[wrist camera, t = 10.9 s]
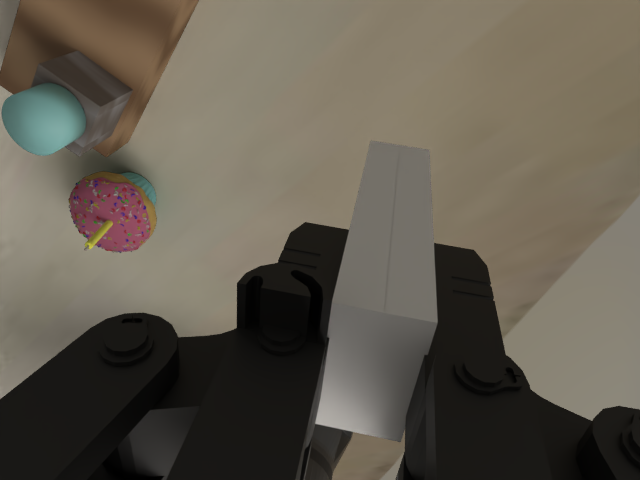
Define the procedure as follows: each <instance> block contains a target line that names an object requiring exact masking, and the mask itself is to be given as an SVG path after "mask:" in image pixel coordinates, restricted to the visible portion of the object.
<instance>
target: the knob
mask: <svg viewBox="0 0 640 480" xmlns="http://www.w3.org/2000/svg"><path fill="white" fill-rule="evenodd" d="M2 119H3V123H4V125H5V128H6V130H7V132H8V133H9V135H10V136H11V137H12V139H13V140H14V141H15V142H16V143H17V144H18V145H19V146H21V147H22V148H23V149H25V150H27V151H28V152H31V153H33V154H36V155H42V156H44V155H50V154H53V153H55V152H56V151H58V150H60V149H61V148H63V147H65V146H66V145H68V144H70V143H72V142H73V141H75V140H77V139H78V138H80V137H81V136H82V135H83V133H84V131H85V128H86V117H85V113H84V108H82V106H81V104H80V103H79V101H78V100H77V98H76V97H75V96H74V95H73V94H72V93H71V92H69V91H68V90H67V89H65V88H64V87H62V86H60V85H57V84H53V83H43V84H40V85H37V86H35V87H32V88H30V89H27V90H24V91H22V92H19V93H17V94H14V95H12V96H10V97H8V98H7V99H6V100H5V102H4V104H3V107H2Z"/></svg>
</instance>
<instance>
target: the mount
mask: <svg viewBox="0 0 640 480" xmlns="http://www.w3.org/2000/svg"><path fill="white" fill-rule="evenodd" d="M198 1H199V0H20V4H19V7H18V11H17V14H16V18H15V21H14V25H13V28H12V32H11V36H10V39H9V43H8V46H7V50H6V53H5V57H4V60H3V64H2V67H1V71H0V85H1V86H2V87H4V88H5V89H6V90H8V91H9V92H11V93H12V94H17V93H19V92H22V91H24V90H27V89H30V88H32V87H35V86H37V85H40V84H43V83H53V84H57V85H60V86H62V87H64V88H65V89H67V90H68V91H69V92H71V93H72V94H73V95H74V96H75V97H76V98H77V100H78V101H79V103H80V104H81V106H82V108H84V113H85V117H86V128H85V131H84V133H83V135H82V136H81V137H80V138H78V139H77V140H75V141H73V142H72V143H70V144H68V145H66V146H65V147H66V148H67V149H69V150H70V151H72V152H73V153H75V154H76V155H78V156H81V155H82V154H84V153H85V152H87V151H88V150H90V149H91V148H93V149H95V150H96V151H98V152H99V153H101V154H102V155H104V156H105V157H108V156H109V155H111V154H112V153H113V152H115V151H116V150H118V149H119V148H121V147H122V146H123V145H125V144H126V143H128V141H129V139H130V137H131V135H132V133H133V131H134V129H135V127H136V125H137V123H138V121H139V119H140V117H141V115H142V113H143V111H144V109H145V107H146V105H147V103H148V101H149V99H150V97H151V95H152V93H153V91H154V89H155V87H156V85H157V83H158V81H159V79H160V77H161V75H162V73H163V71H164V69H165V67H166V65H167V63H168V61H169V59H170V57H171V55H172V53H173V51H174V49H175V47H176V45H177V43H178V41H179V39H180V37H181V35H182V33H183V31H184V29H185V27H186V25H187V23H188V21H189V19H190V17H191V15H192V13H193V11H194V9H195V7H196V5H197V3H198Z"/></svg>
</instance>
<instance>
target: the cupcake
mask: <svg viewBox="0 0 640 480" xmlns="http://www.w3.org/2000/svg"><path fill="white" fill-rule="evenodd" d="M69 199H70V200H69V203H70V205H69V208H70V212H71V215H72V216H71V217H72V219H73V222H74V224H76V227H77V228H78V231H79V233H80V232H81V233H82V234H83V236H84V237H86V238H87V239H88V241H87V242H86V243H85V247H86V248H85V249H84V250H85V251H87V249H91V248H92V247H93V246H94V245H95V244H96V245H97V246H98V247H101V248H102V249H105V250H107V251H112V252H113V251H114V252H120V253H121V252H126V251H131V252H132V251H133V250H137V249H138V248H139V247H140V246H141V245H142V244H144V243H145V242H146V241H147V240H148V239H149V237H150V236H151V235H152V233H153V231H154V229H155V226H156V221H157V218H156V214H155V207H154V206H155V203H156V194H155V191H154V189H153V187H152V185H151V184H150V183H149V182H148V181H147V180H146V179H145V178H144V177H142V176H140V175H138V174H135V173H130V172H127V173H122V174H116V173H111V172H105V171H101V172H97V173H94V174H91V175H89V176H87V177H84V178H83V179H82V180H81V181H80V182H78V183H76V186H75V188H74V189H73V191H72V192H71V195H70V198H69ZM81 233H80V234H81Z"/></svg>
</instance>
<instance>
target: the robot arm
mask: <svg viewBox="0 0 640 480" xmlns="http://www.w3.org/2000/svg"><path fill="white" fill-rule="evenodd" d="M490 284H491V282H490V277H489V272H488V268H487V265H486V264H485V263H484V262H483V261H482V259H481V258H480V257H479V256H478V254H477V253H476V252H475V251H474V250H471V249H465V248H459V247H454V246H448V245H442V244H436V243H434V235H433V214H432V194H431V173H430V152H429V150H428V149H421V148H415V147H409V146H402V145H396V144H390V143H383V142H377V141H371V142H370V146H369V150H368V154H367V158H366V162H365V167H364V171H363V175H362V179H361V183H360V187H359V191H358V196H357V200H356V204H355V208H354V212H353V216H352V221H351V225H350V229H349V230H347V229H341V228H335V227H330V226H324V225H318V224H313V223H307V222H305V223H303V224H302V225H301V226H299V227H298V228H297V229H295V230H294V231H292V232H291V233H290V235H289V237H288V239H287V242H286V244H285V246H284V250H283V251H282V253H281V255H280V257H279V260H278V263H275V264H269V265H264V266H259V267H257V268H255V269H253V270H251V271H249V272H247V273H246V274H245V275H244V276H243V277H242V278H241V279H240V280H239V282H238V283H237V328H236V329H234V330H232V331H228V332H225V333H222V334H217V335H210V336H197V337H178V336H177V334H176V332H175V330H174V328H173V326H172V324H170V323H169V322H167V321H166V320H164V319H163V318H161V317H159V316H155V315H151V314H146V313H127V314H122V315H118V316H115V317H111V318H108V319H105V320H104V321H102V322H100V323H99V324H97V325H95V326H93V327H92V328H90V329H89V330H88V331H86V332H85V333H84V334H82V335H81V336H80V337H79V338H77V339H76V340H75V341H74V342H72V343H71V344H70V345H69V346H67V347H66V348H65V349H63V350H62V351H61V352H60V353H58V354H57V355H56V356H55V357H53V358H52V359H51V360H50V361H48V362H47V363H46V364H44V365H43V366H42V367H41V368H39V369H38V370H37V371H36V372H34V373H33V374H32V375H31V376H29V377H28V378H27V379H25V380H24V381H23V382H22V383H20V384H19V385H18V386H17V387H15V388H14V389H13V390H12V391H10V392H9V393H8V394H6V395H5V396H4V397H3V398H1V399H0V480H332V475H333V471H334V469H335V468H336V466H337V464H338V462H339V460H340V458H341V457H342V455H343V453H344V451H345V449H346V447H347V446H348V444H349V442H350V440H351V437H352V434H353V432H356V433H361V434H366V435H370V436H375V437H380V438H384V439H389V440H394V441H398V442H401V439H402V436H403V433H404V430H405V452H404V455H403V458H402V461H401V464H400V468H399V471H398V474H397V477H396V480H640V410H639V409H633V408H627V407H621V406H616V407H611V408H606V409H603V410H602V411H601V412H600V413H599V414H598V415H597V416H596V417H595V418H594V419H593V421H591V420H588V419H586V418H584V417H581V416H579V415H577V414H575V413H573V412H571V411H568V410H566V409H564V408H562V407H559V406H557V405H555V404H553V403H551V402H549V401H548V400H546V399H544V398H542V397H540V396H539V395H537V394H536V393H535V392H533V391H532V390H531V389H530V385H529V383H528V381H527V379H526V377H525V375H524V373H523V371H522V370H521V369H520V368H519V367H518V366H517V365H516V363H514V361H513V360H512V359H511V358H509V357H508V356H506V354H505V350H504V345H503V340H502V335H501V330H500V325H499V321H498V316H497V311H496V306H495V301H493V298H494V296H493V292H492V287H491V286H490ZM405 426H406V428H405Z"/></svg>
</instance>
